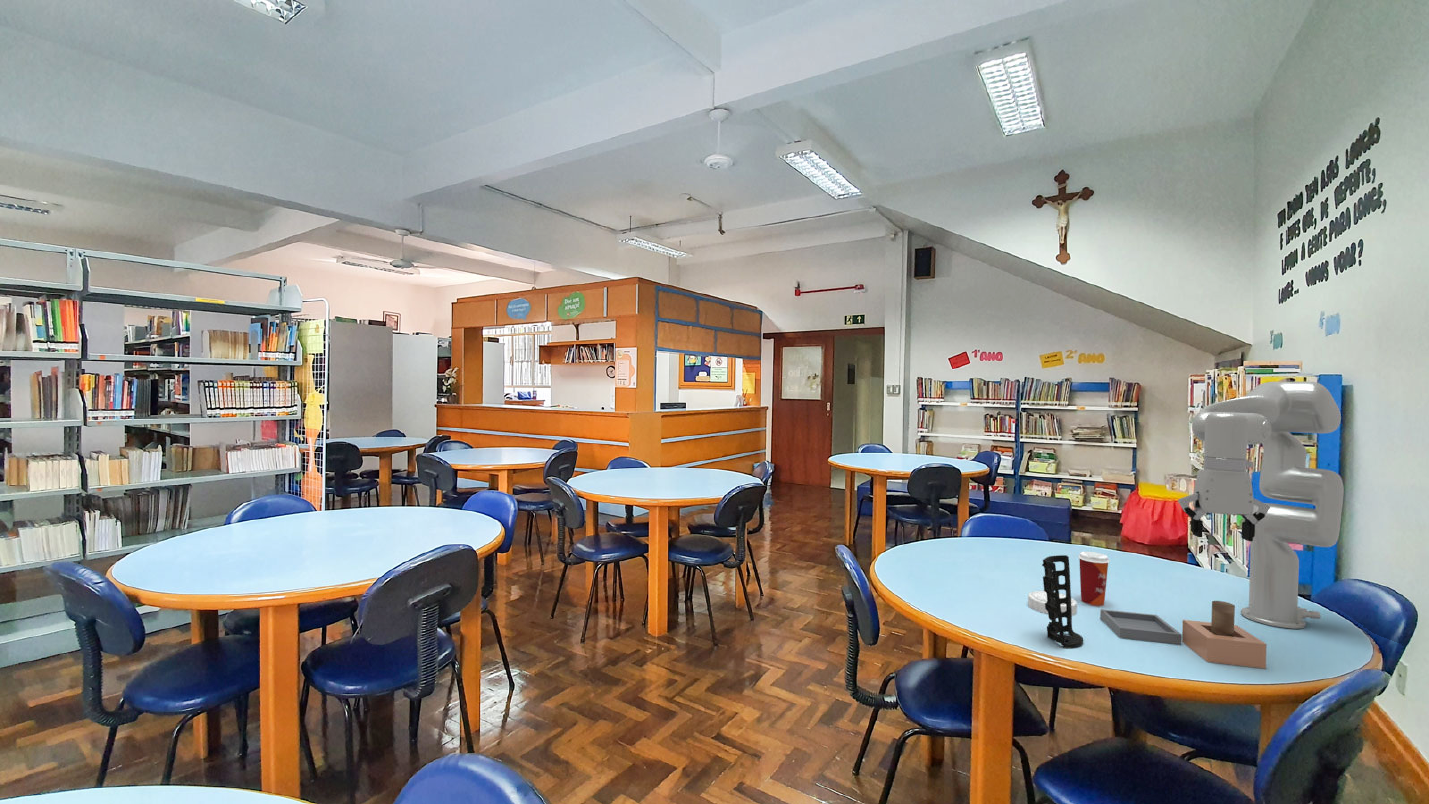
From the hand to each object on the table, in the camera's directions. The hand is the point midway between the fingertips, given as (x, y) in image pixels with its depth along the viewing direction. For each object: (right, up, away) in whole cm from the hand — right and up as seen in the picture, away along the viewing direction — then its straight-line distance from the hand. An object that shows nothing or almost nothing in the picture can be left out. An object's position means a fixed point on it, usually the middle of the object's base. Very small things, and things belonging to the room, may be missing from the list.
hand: (1221, 538), depth 136 cm
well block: (-1, -27, -1) cm, 27 cm away
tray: (-10, -27, +12) cm, 31 cm away
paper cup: (-9, -27, +33) cm, 43 cm away
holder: (-34, -27, +6) cm, 44 cm away
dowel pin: (-1, -27, -1) cm, 27 cm away
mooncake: (-24, -27, +28) cm, 45 cm away
